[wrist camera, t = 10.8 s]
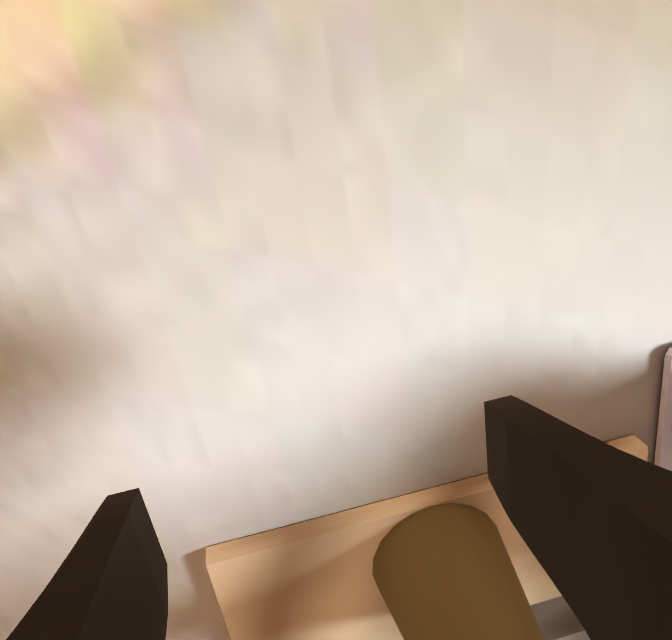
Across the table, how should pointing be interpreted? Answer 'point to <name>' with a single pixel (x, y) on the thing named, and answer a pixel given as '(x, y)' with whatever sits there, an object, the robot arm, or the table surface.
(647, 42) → the table surface
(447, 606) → the cork
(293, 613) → the shelf board
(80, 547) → the robot arm
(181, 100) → the table surface
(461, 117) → the table surface
